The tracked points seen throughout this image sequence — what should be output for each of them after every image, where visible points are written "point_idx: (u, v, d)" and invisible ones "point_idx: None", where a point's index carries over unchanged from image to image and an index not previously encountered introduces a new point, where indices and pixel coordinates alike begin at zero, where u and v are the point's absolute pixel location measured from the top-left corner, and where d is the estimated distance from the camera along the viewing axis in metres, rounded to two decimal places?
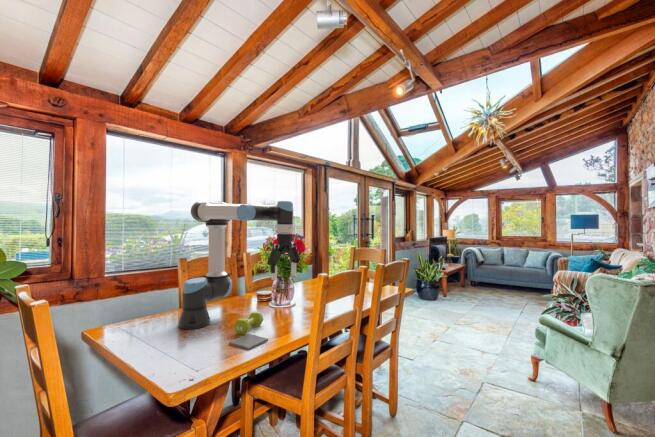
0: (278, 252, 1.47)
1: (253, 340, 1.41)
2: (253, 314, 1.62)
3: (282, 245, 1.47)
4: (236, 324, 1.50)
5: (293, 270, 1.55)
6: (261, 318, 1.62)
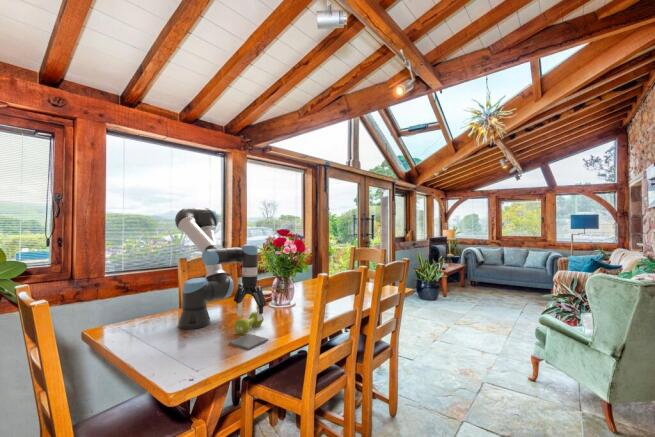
0: None
1: (253, 340, 1.41)
2: (253, 314, 1.62)
3: (244, 286, 1.58)
4: (236, 324, 1.50)
5: None
6: None
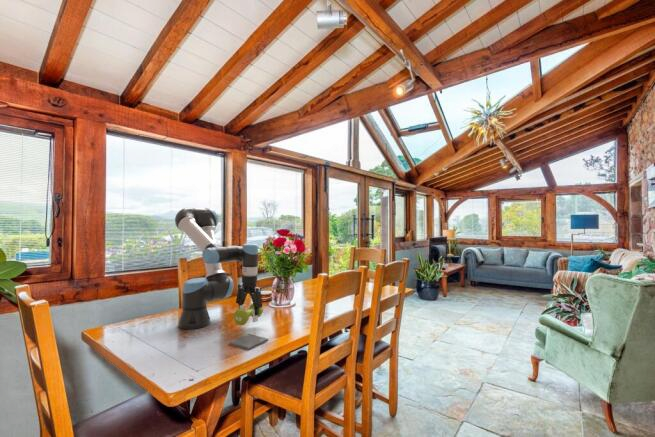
0: None
1: (253, 340, 1.41)
2: (253, 305, 1.62)
3: (243, 285, 1.58)
4: (235, 314, 1.51)
5: None
6: (261, 309, 1.62)
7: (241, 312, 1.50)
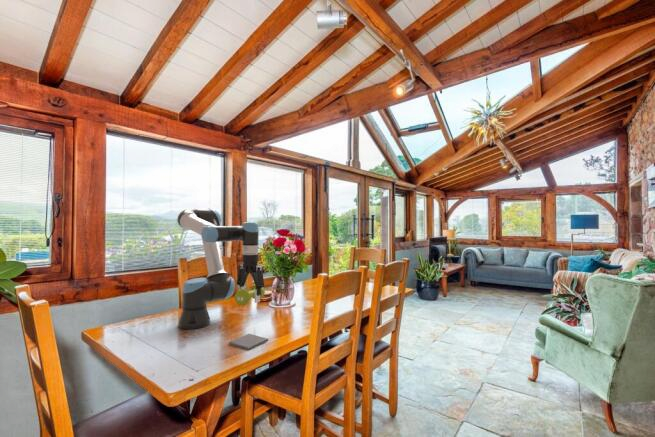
0: None
1: (253, 340, 1.41)
2: (254, 286, 1.56)
3: (244, 265, 1.53)
4: (237, 294, 1.45)
5: None
6: (263, 290, 1.56)
7: (243, 291, 1.44)
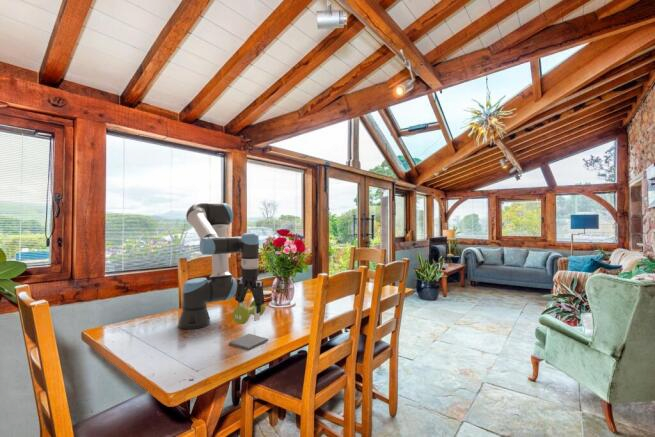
0: None
1: (253, 340, 1.41)
2: (254, 302, 1.45)
3: (243, 279, 1.41)
4: (234, 312, 1.34)
5: None
6: (263, 307, 1.45)
7: (241, 309, 1.33)
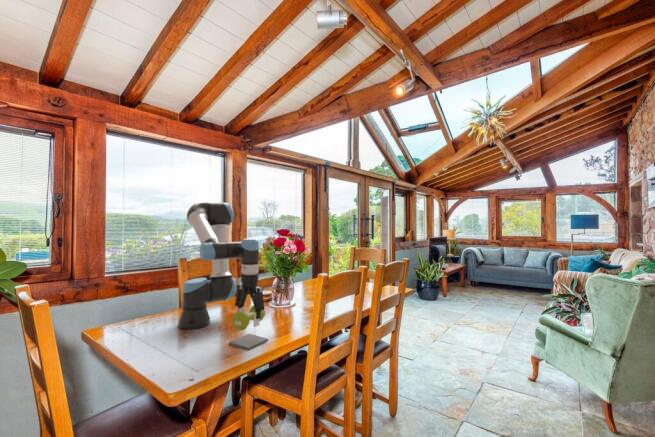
0: None
1: (253, 340, 1.41)
2: (254, 307, 1.45)
3: (243, 285, 1.41)
4: (234, 318, 1.34)
5: None
6: (263, 312, 1.45)
7: (241, 315, 1.33)
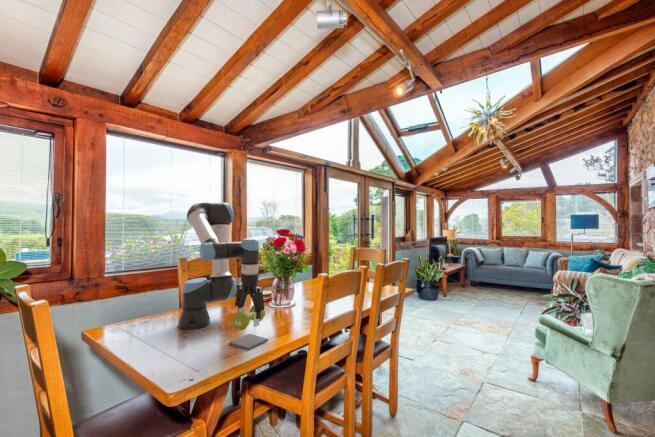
0: None
1: (253, 340, 1.41)
2: (254, 307, 1.45)
3: (243, 285, 1.41)
4: (234, 318, 1.34)
5: None
6: (263, 312, 1.45)
7: (241, 315, 1.33)
